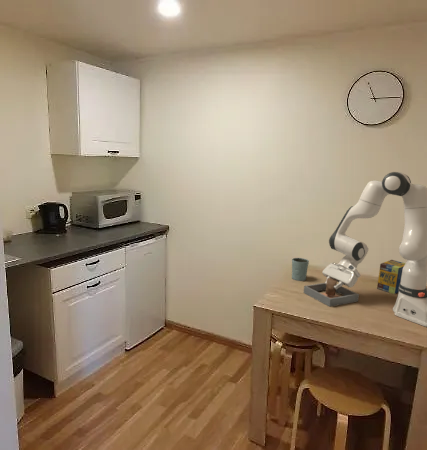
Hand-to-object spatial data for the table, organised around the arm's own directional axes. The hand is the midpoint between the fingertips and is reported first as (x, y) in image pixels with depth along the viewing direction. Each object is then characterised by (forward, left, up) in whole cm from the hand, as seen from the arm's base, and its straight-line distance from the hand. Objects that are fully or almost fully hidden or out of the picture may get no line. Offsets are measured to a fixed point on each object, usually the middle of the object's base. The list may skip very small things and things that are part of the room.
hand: (330, 286), depth 197 cm
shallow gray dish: (0, -1, -6) cm, 6 cm away
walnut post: (0, -1, -4) cm, 4 cm away
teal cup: (+30, -4, -6) cm, 31 cm away
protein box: (-3, -46, -6) cm, 46 cm away
